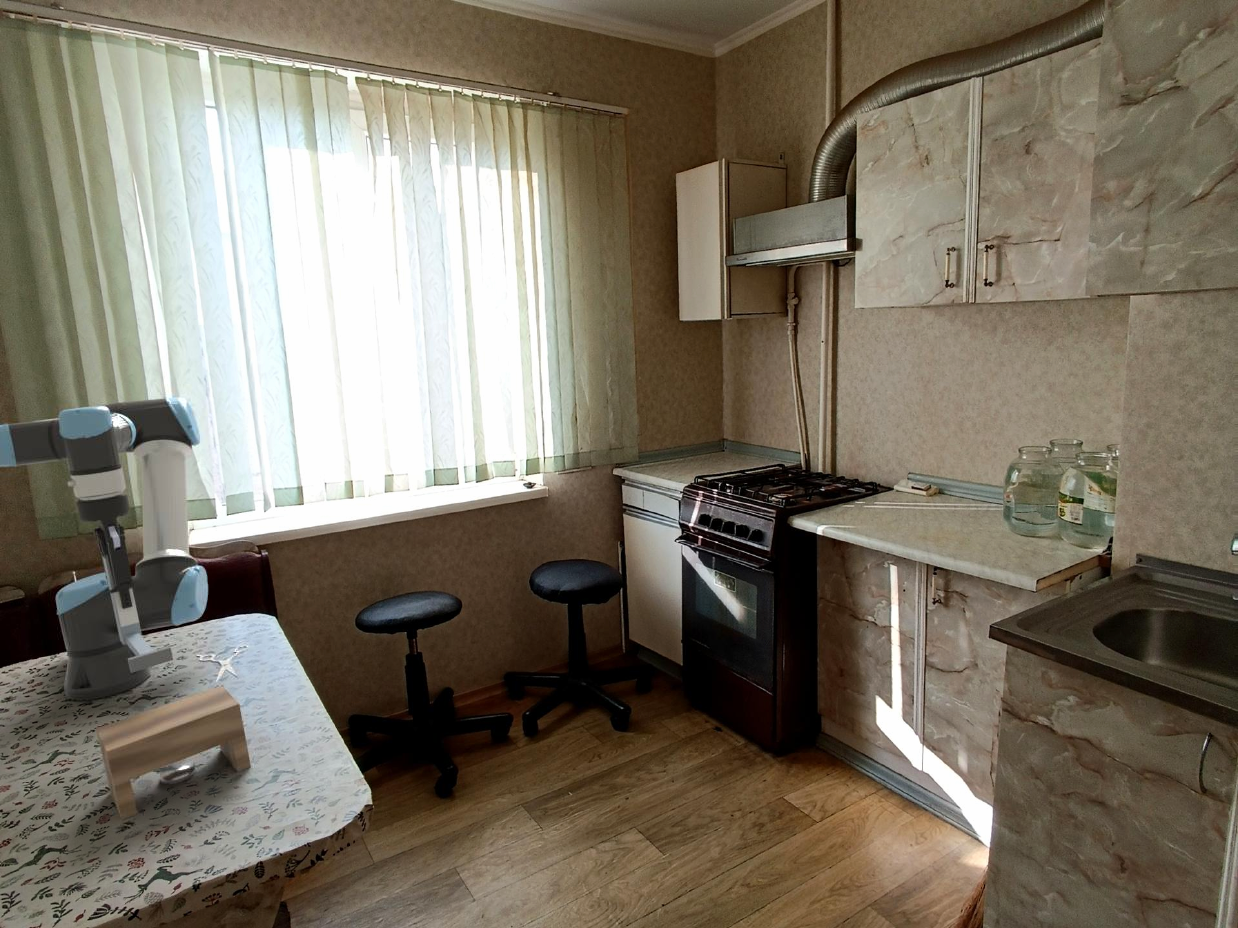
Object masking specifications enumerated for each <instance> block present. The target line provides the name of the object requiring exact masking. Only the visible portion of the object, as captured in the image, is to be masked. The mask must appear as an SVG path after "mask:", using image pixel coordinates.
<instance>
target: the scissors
mask: <svg viewBox="0 0 1238 928" xmlns="http://www.w3.org/2000/svg"><path fill="white" fill-rule="evenodd" d="M244 646H246V647H244ZM239 647H243V648H244V649H242V650H243V651H244V650H246V649H247V650H248V648H247V647H249V645H241V646H239ZM249 648H250V647H249ZM237 649H238V647H236V648H235V649H234V650H235V651H234V650H233V651H232V653H234V652H237V653H235V654H234V655H232V656H231V657H229V658H227V659H225V660H222V659H220V660H219V659H215V658H217V655H216V654H205V655H201V654H197V655H196V657H197V656H199V657H198V659H199V662H202V661H205V662H212V661H213V662H212V663H219V664H220V665H221V667H220V670H219V672H218V675H217V676H216V677H217V678H216V681H215V683H217V682H218V681H219V679H221V677H222V675H223V674H224V672H225V671H226V670H227V671H228V672H230V673H231V674H233V675H234V676H235V677H238V675H237V674H236V671H235V670H234V668H233V667H232V666H231V664H229V663H231V662H232V660H233V659H232V658H233V657H234V658H235V656H236V657H237V656H238V655H239V654H240V653H239V652H241V653H243V652H242V650H239V649H238V650H237ZM236 650H237V651H236ZM247 650H246V651H247ZM244 652H245V651H244ZM238 653H239V654H238ZM237 654H238V655H237ZM205 656H208V657H210V658H207V659H206V657H205ZM213 658H214V659H213ZM231 659H232V660H231ZM230 661H231V662H230ZM222 670H223V671H222ZM224 670H225V671H224Z"/></svg>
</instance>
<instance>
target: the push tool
mask: <svg viewBox="0 0 1238 928" xmlns="http://www.w3.org/2000/svg"><path fill="white" fill-rule="evenodd" d="M102 557H103V560H102V562H103V561H104V565H103V567H104V566H105V569H104V572H105V571H106V576H107V580H108V585H109V590H112V589H114V584H113V580H112V576H111V571H110V567H109V563H108V558H107V555H106V556H101V558H102ZM110 594H111V599H112V604H113V608H114V613H115V618H116V623H117V627H118V632H119V637H120V641H121V642H122V644H123V645H125V644H127V645H128V646H129V648H130V649H131V650H132V651H133V653H134V654H135V655H136V656H135V657H131V658H128V663H129V667H130V671H131V673H133V672H136V671H139V670H143V669H146V668H149V667H150V668H152V667H155V666H159V665H161V664H164V663H167V662H171V661H174V657H173V653H172V648H171V646H169V645H168V646H164V647H161V648H158V649H153V648H152V647H151V645H150V644H149V643H148V642H147V641H146V640H145V638H144V637H143V633H142V631H141V628H140V624H139V622H138V623H135V624H131V625H127V626H124V627H121V624H120V620H119V615H118V610H117V606H116V601H115V596H114V593H110ZM134 600H135V599H134ZM135 605H136V604H135ZM136 610H137V609H136Z"/></svg>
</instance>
